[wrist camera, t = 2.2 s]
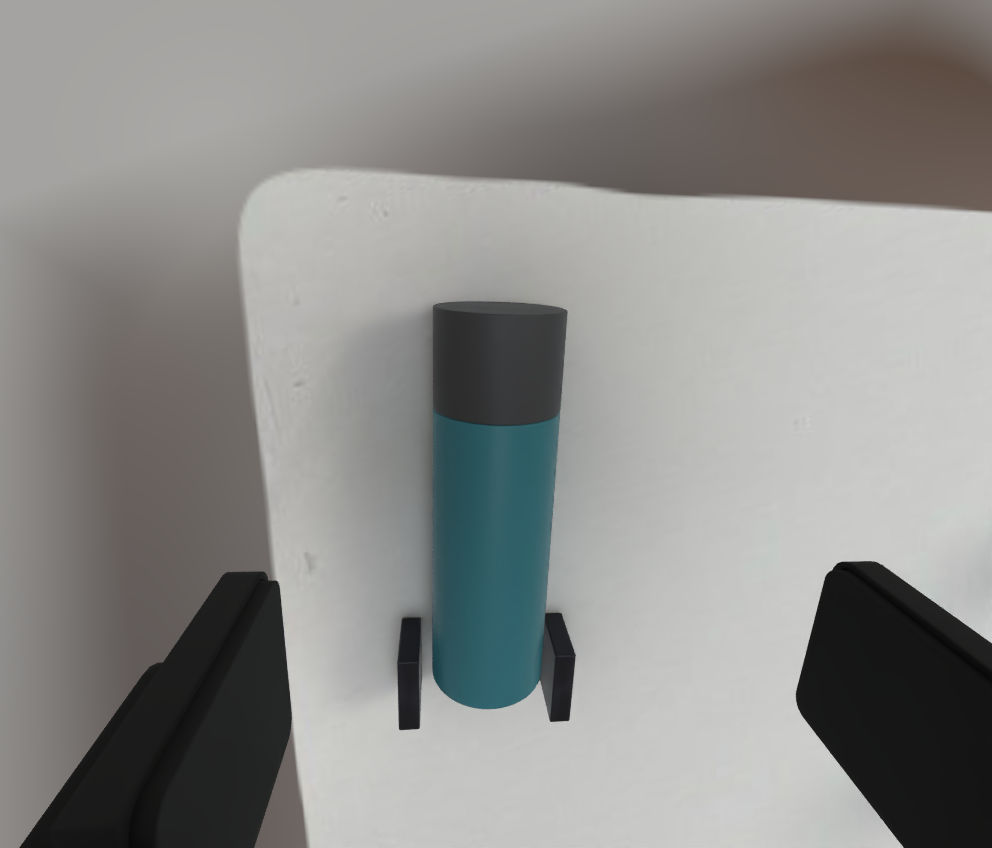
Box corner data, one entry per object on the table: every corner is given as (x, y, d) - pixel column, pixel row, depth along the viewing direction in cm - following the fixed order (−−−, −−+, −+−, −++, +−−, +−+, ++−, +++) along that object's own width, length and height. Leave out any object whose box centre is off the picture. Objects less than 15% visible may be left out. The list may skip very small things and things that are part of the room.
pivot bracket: (403, 681, 29) (398, 730, 26) (401, 618, 28) (397, 662, 25) (556, 674, 30) (569, 721, 27) (561, 612, 29) (576, 655, 26)
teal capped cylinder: (432, 632, 28) (431, 713, 23) (433, 299, 23) (432, 312, 18) (531, 629, 29) (550, 706, 24) (552, 303, 24) (582, 316, 19)
